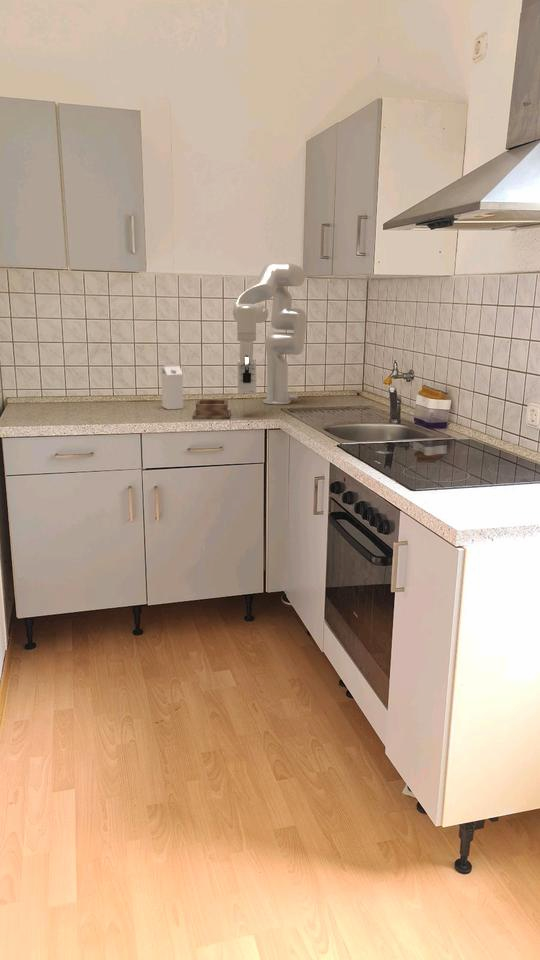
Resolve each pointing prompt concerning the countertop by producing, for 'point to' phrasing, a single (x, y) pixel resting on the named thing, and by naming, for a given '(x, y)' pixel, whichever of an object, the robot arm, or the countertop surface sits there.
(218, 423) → the countertop surface
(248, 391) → the supplement box
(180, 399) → the milk carton
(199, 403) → the walnut caddy
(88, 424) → the countertop surface
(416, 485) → the countertop surface
